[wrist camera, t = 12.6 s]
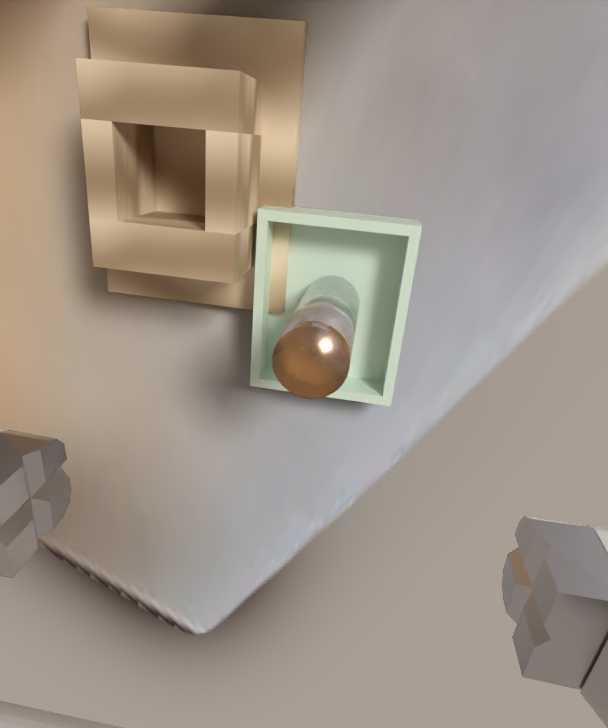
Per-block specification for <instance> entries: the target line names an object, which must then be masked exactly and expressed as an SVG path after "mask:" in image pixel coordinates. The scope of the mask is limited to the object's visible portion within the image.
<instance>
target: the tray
mask: <svg viewBox="0 0 608 728" xmlns="http://www.w3.org/2000/svg"><path fill="white" fill-rule="evenodd" d="M274 222H283V223H291V231H290V245H289V259H288V273H287V287H286V301H285V312H284V314H280V313H272V312H268V311H269V294H270V277H271V260H272V243H273V226H274ZM421 230H422V225H421V223H420V221H419V220H416V219H407V218H398V217H388V216H379V215H369V214H360V213H350V212H341V211H331V210H322V209H312V208H303V207H292V208H284V207H274V206H263V207H261V208H258V216H257V238H256V260H255V282H254V304H253V325H252V347H251V369H250V386H253V387H260V388H267V389H274V390H281V391H288V390H287V389H286V388H284V387H283V386H282V385H281V383H280V382H279V381H278V379H277V378H276V376H275V373H274V370H273V366H272V354H273V351H274V348H275V346H276V344H277V342H278V340H279V338H280V337H281V335H282V333H283V331H284V329H285V328H286V326H287V324H288V322H289V320H290V319H291V317H292V315H293V313H294V312H295V310H296V308H297V306H298V304H299V303H300V301H301V299H302V297H303V295H304V294H305V292H306V290H307V288H308V287H309V286H310V284H311V283H312V282H314V281H315V280H316V279H318V278H320V277H323V276H329V275H333V276H339V277H342V278H344V279H346V280H347V281H349V282H350V283H351V284H352V285H353V286H354V287H355V289H356V291H357V293H358V295H359V300H360V306H359V313H358V319H357V325H356V331H355V337H354V343H353V349H352V355H351V361H350V367H349V372H348V375H347V378H346V380H345V382H344V383H343V385H342V386H341V387H340V388H339V389H338V390H337V391H335V392H334V393H332V394H330V395H328V396H326V397H330V398H337V399H344V400H351V401H358V402H365V403H372V404H379V405H386V406H391V402H392V396H393V391H394V385H395V379H396V373H397V368H398V362H399V356H400V350H401V345H402V339H403V333H404V327H405V322H406V316H407V310H408V304H409V299H410V293H411V287H412V281H413V276H414V270H415V264H416V258H417V253H418V247H419V241H420V235H421ZM288 392H290V391H288Z"/></svg>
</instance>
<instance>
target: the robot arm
mask: <svg viewBox="0 0 608 728" xmlns="http://www.w3.org/2000/svg"><path fill="white" fill-rule="evenodd" d="M66 459H67V457H66V452H65V446H64V443H62V442H61V441H59V440H58V439H55V438H49V437H44V436H39V435H33V434H28V433H23V432H17V431H12V430H4V429H0V576H4V577H11V578H13V577H14V576H15V575H16V574H17V573H18V572H19V570H20V569H21V568H22V567H23V565H24V564H25V563H26V562H27V561H28V560H29V558H30V557H31V556H32V555H33V554H34V552H35V551H36V550H37V549H38V537H39V536H42V535H44V534H46V533H48V532H50V531H52V530H54V529H55V527H56V526H57V525H58V524H59V522H60V521H61V520H62V518H63V517H64V514H65V512H66V510H67V507H68V505H69V503H70V495H71V485H70V478H69V477H68V476H67V475H66V474H65V472H64V471H63V470H62V469H61V466H62V465H63V463H64V462H65V461H66ZM515 536H516V539H517V542H518V546H519V547H518V548H516V549H515V550H513V551H512V552H510V553H509V554H508V555H507V559H506V562H505V566H504V569H503V579H502V592H503V600H504V605H505V609H506V613H507V614H508V615H509V616H510V617H511V618H512V619H513V620H514V621H515V622H516V623H517V626H516V629H515V631H514V634H513V637H512V638H513V642H514V645H515V649H516V653H517V657H518V661H519V665H520V669H521V673H522V676H523V677H525V678H530V679H534V680H539V681H543V682H548V683H552V684H557V685H562V686H566V687H571V688H575V689H580V690H581V692H580V693H581V694H582V695H583V697H584V698H585V699H586V700H587V702H588V703H589V704H590V705H591V707H592V708H593V710H594V711H595V712H596V713H597V715H598V716H599V717H600V718H601V720H602V721H603V722H604V724H605V725H606V726H607V727H608V528H605V527H598V526H590V525H587V526H583V525H578V524H571V523H565V522H559V521H553V520H546V519H540V518H534V517H527V516H524V517H523V518H522V519H521V521H520V522H519V524H518V527H517V530H516V533H515ZM0 728H122V727H117V726H113V725H108V724H104V723H99V722H95V721H90V720H85V719H81V718H76V717H72V716H67V715H63V714H58V713H53V712H49V711H44V710H40V709H36V708H31V707H27V706H22V705H17V704H13V703H8V702H3V701H0Z"/></svg>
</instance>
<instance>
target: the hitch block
mask: <svg viewBox="0 0 608 728" xmlns="http://www.w3.org/2000/svg"><path fill="white" fill-rule="evenodd" d="M87 13H88V27H89V40H90V54H91V59H84V58H76V67H77V79H78V91H79V103H80V115H81V127H82V139H83V151H84V163H85V175H86V186H87V198H88V210H89V222H90V234H91V246H92V258H93V267H101V268H106V271H107V285H108V292H116V293H124V294H132V295H140V296H147V297H155V298H163V299H171V300H179V301H186V302H194V303H202V304H210V305H218V306H225V307H233V308H241V309H249V310H253V304H254V282H255V260H256V238H257V216H258V208H261V207H263V206H274V207H284V208H292V207H294V198H295V184H296V171H297V157H298V143H299V130H300V116H301V103H302V89H303V75H304V62H305V48H306V34H307V24H306V23H305V21H296V20H281V19H266V18H251V17H237V16H222V15H207V14H193V13H178V12H163V11H148V10H134V9H119V8H104V7H90V6H87ZM290 231H291V223H283V222H274V226H273V243H272V260H271V277H270V294H269V311H268V312H272V313H280V314H284V312H285V301H286V287H287V273H288V259H289V245H290Z"/></svg>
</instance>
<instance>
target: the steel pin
mask: <svg viewBox="0 0 608 728" xmlns="http://www.w3.org/2000/svg"><path fill="white" fill-rule="evenodd" d="M359 306H360V300H359V295H358V293H357V291H356V289H355V287H354V286H353V285H352V284H351V283H350V282H349V281H347V280H346V279H344V278H342V277H339V276H333V275H329V276H323V277H320V278H318V279H316V280H315V281H314V282H312V283H311V284H310V286H309V287H308V288H307V290H306V292H305V294H304V295H303V297H302V299H301V301H300V303H299V304H298V306H297V308H296V310H295V312H294V313H293V315H292V317H291V319H290V320H289V322H288V324H287V326H286V328H285V329H284V331H283V333H282V335H281V337H280V338H279V340H278V342H277V344H276V346H275V348H274V351H273V354H272V366H273V370H274V373H275V376H276V378H277V379H278V381H279V382H280V383H281V385H282V386H283V387H284V388H286V389H287V390H288V391H290V392H291V393H293V394H295V395H297V396H300V397H304V398H311V399H313V398H322V397H326V396H328V395H330V394H332V393H334V392H335V391H337V390H338V389H339V388H340V387H341V386H342V385H343V383H344V382H345V380H346V378H347V375H348V372H349V367H350V361H351V355H352V349H353V343H354V337H355V331H356V325H357V319H358V313H359Z"/></svg>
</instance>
